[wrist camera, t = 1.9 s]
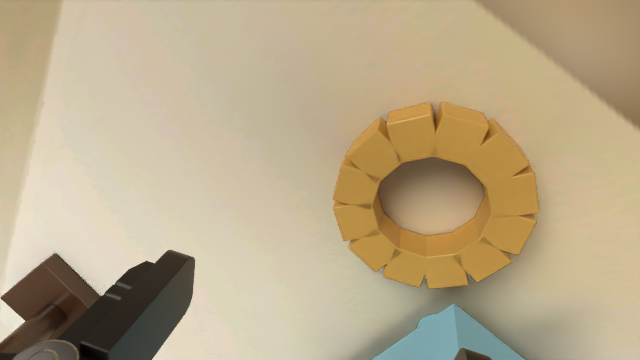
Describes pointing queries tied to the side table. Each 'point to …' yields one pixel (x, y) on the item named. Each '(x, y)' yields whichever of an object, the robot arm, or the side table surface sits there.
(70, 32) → the side table surface
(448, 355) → the teapot
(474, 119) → the ring
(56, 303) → the post
